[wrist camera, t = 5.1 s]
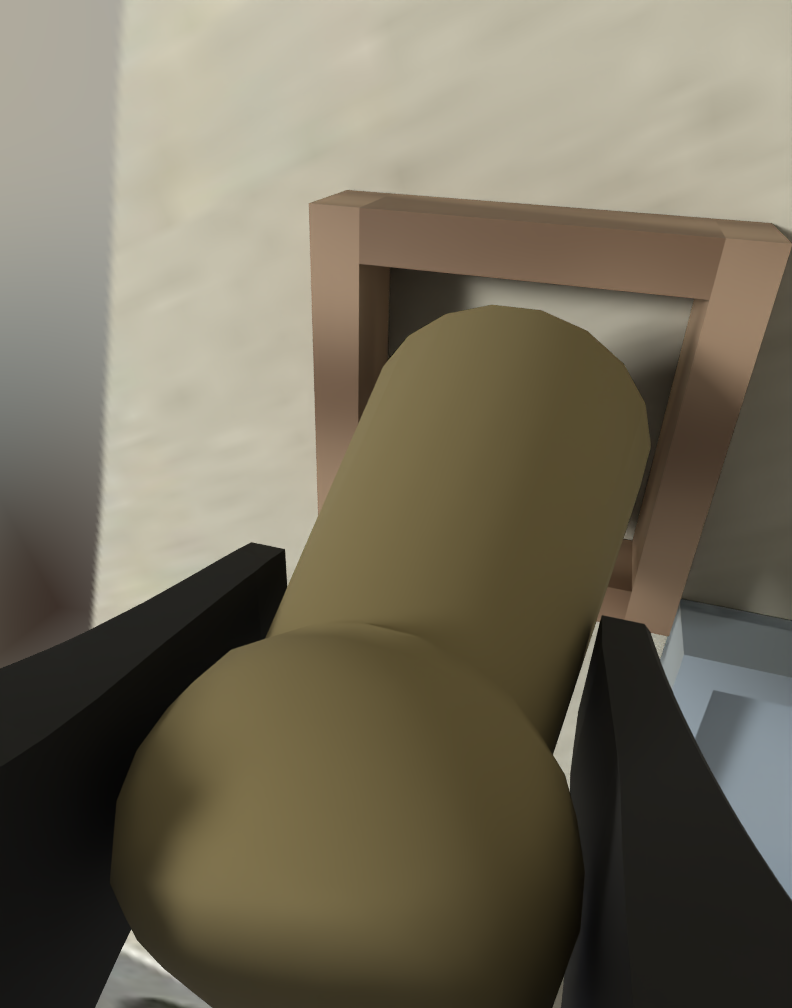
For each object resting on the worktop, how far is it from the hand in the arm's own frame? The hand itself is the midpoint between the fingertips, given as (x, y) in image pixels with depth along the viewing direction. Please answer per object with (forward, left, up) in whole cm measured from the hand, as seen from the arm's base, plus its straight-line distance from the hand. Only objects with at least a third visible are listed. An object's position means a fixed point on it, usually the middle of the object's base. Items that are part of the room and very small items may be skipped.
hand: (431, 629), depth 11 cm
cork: (+1, 0, -6) cm, 6 cm away
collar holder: (0, 0, -10) cm, 10 cm away
